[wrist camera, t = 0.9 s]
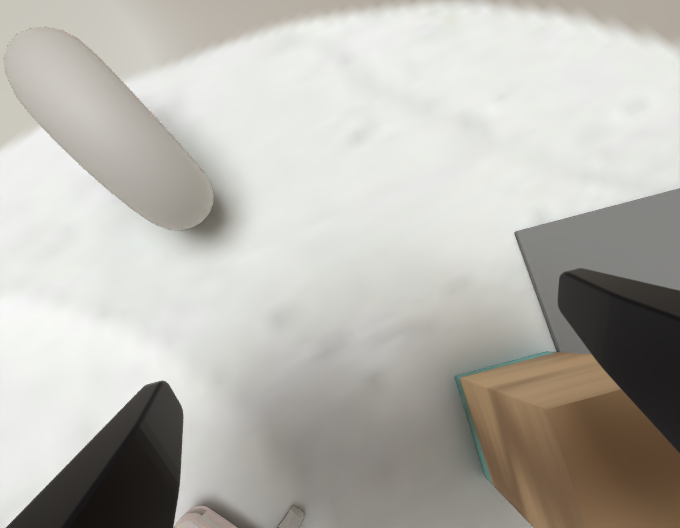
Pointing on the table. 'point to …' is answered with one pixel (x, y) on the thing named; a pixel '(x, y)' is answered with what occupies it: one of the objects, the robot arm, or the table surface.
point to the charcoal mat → (603, 252)
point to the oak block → (570, 445)
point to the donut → (106, 128)
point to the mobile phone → (205, 524)
